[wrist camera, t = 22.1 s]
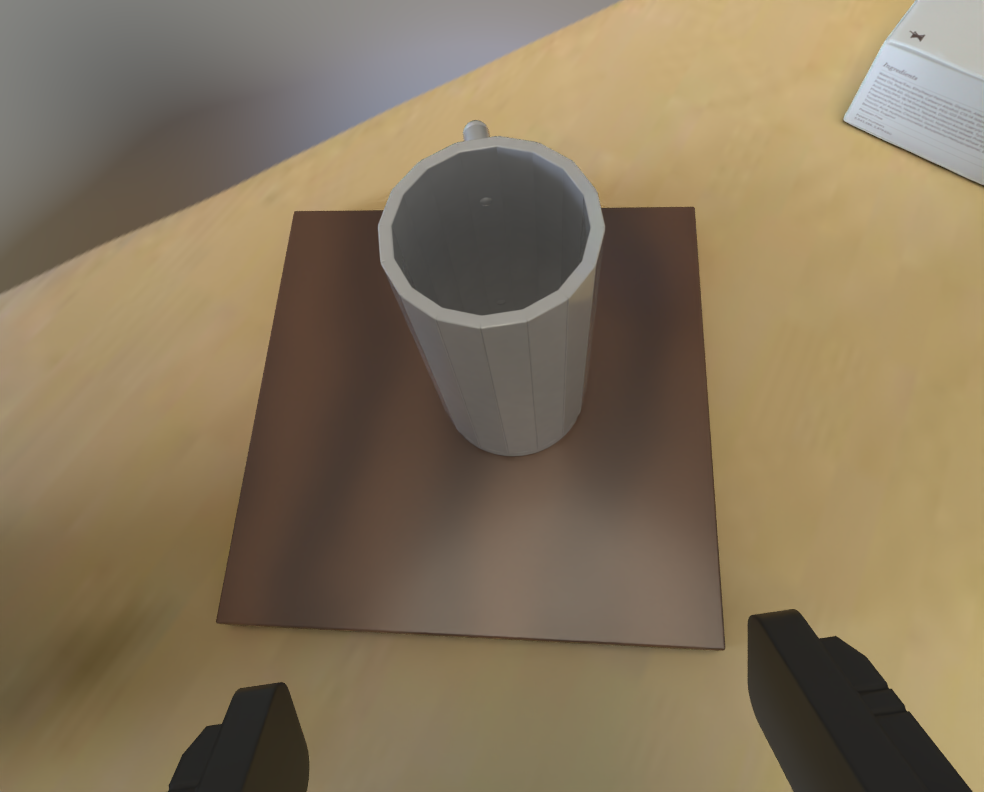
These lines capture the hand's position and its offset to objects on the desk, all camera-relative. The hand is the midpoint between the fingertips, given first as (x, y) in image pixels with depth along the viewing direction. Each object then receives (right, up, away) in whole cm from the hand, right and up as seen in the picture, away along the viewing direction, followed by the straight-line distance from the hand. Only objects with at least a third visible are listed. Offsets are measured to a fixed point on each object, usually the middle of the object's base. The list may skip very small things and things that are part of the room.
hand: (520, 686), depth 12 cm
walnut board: (-1, +5, +19) cm, 20 cm away
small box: (+23, +20, +23) cm, 38 cm away
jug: (0, +7, +18) cm, 20 cm away
